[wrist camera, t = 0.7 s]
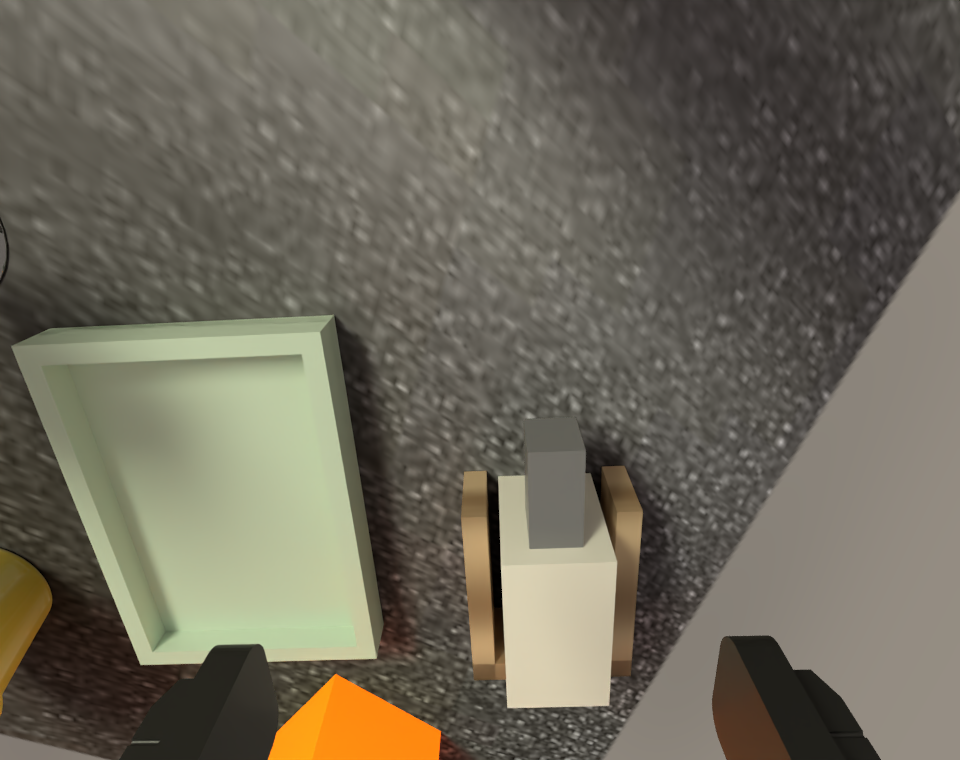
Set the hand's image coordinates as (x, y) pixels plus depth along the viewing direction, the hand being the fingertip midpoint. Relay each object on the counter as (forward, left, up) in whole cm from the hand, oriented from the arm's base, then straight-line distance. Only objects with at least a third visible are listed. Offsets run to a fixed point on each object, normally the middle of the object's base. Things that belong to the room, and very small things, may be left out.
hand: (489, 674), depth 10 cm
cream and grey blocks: (+10, +3, -19) cm, 22 cm away
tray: (+9, -14, -19) cm, 26 cm away
